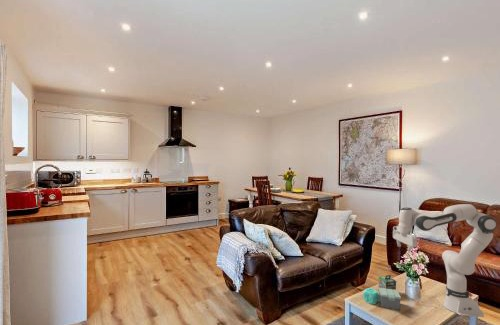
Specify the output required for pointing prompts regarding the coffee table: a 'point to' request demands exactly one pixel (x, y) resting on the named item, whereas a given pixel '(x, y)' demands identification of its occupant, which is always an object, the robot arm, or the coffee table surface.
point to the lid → (389, 293)
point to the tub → (389, 302)
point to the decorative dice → (370, 296)
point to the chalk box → (387, 282)
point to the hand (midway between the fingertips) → (403, 248)
